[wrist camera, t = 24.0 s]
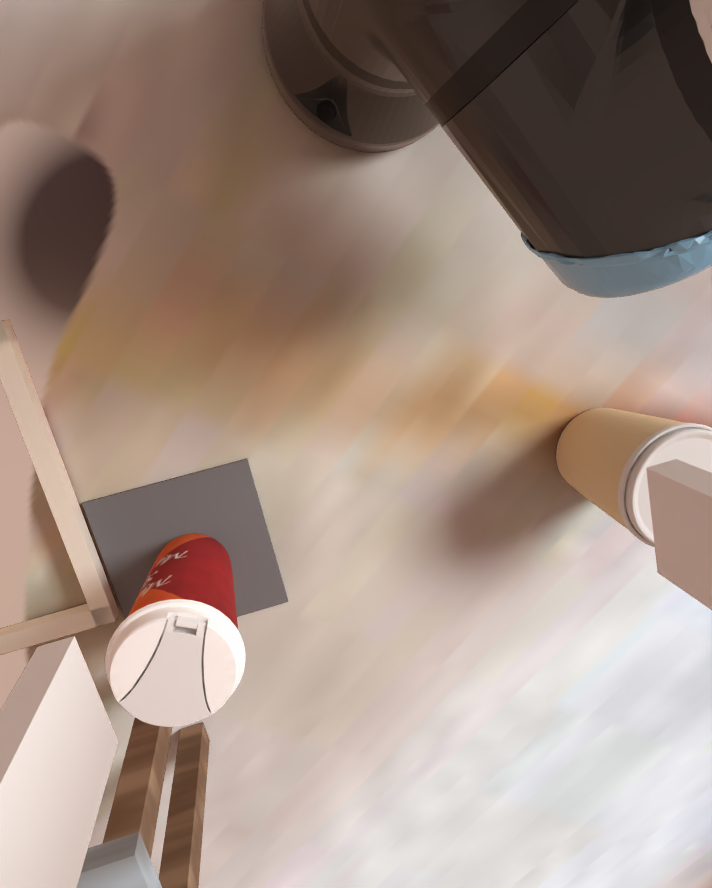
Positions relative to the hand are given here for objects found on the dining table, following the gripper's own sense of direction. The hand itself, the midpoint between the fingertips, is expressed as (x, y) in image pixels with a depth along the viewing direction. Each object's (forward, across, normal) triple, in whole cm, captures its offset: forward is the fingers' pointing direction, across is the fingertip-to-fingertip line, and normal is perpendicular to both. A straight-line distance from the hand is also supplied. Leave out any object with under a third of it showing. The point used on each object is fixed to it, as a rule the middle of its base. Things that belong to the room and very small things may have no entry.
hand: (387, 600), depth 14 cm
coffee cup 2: (+37, +25, -13) cm, 46 cm away
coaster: (+36, -11, -12) cm, 40 cm away
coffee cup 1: (+36, -11, -13) cm, 40 cm away
